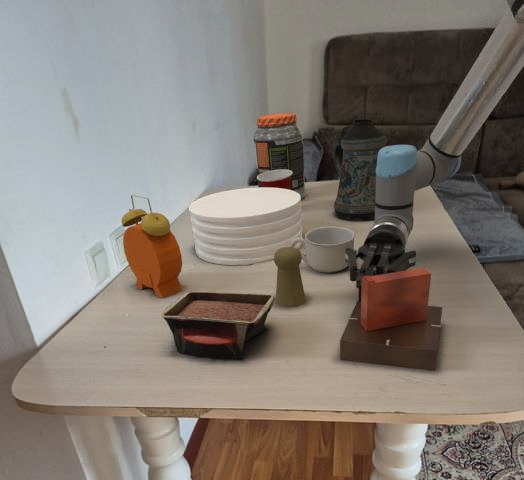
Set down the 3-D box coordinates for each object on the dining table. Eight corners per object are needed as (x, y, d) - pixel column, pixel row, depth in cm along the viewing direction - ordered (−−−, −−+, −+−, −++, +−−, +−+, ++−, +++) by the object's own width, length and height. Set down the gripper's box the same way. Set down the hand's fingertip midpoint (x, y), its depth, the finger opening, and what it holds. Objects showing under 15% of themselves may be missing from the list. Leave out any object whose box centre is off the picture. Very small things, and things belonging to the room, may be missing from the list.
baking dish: (206, 326, 93) (189, 280, 88) (291, 324, 86) (277, 273, 80) (168, 371, 83) (146, 322, 78) (261, 373, 75) (243, 318, 70)
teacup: (355, 259, 111) (356, 225, 107) (352, 278, 102) (353, 242, 98) (296, 259, 114) (294, 226, 110) (288, 278, 106) (285, 242, 101)
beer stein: (379, 225, 131) (383, 124, 118) (315, 220, 140) (312, 126, 127) (399, 209, 143) (405, 115, 130) (338, 204, 152) (338, 117, 139)
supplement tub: (308, 192, 169) (305, 110, 156) (301, 204, 156) (297, 116, 143) (264, 193, 173) (258, 114, 160) (254, 205, 160) (246, 120, 147)
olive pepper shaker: (278, 296, 98) (274, 243, 92) (307, 296, 97) (305, 243, 91) (272, 309, 93) (268, 255, 87) (303, 309, 92) (301, 254, 86)
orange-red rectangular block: (419, 313, 78) (423, 265, 74) (426, 320, 76) (431, 271, 72) (360, 324, 77) (361, 276, 72) (366, 331, 74) (367, 282, 70)
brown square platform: (440, 327, 82) (443, 305, 79) (435, 374, 70) (438, 349, 68) (356, 320, 86) (356, 299, 84) (339, 362, 75) (339, 339, 73)
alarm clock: (189, 290, 104) (172, 196, 94) (165, 300, 101) (145, 204, 91) (154, 277, 113) (135, 189, 103) (131, 286, 109) (110, 196, 99)
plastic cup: (252, 215, 150) (248, 175, 144) (277, 206, 156) (274, 168, 150) (277, 220, 143) (274, 178, 137) (302, 211, 149) (300, 171, 143)
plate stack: (175, 260, 121) (166, 214, 116) (228, 226, 143) (223, 186, 137) (276, 269, 110) (272, 220, 104) (318, 231, 131) (316, 188, 125)
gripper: (419, 262, 93) (405, 319, 74) (352, 259, 97) (322, 312, 79) (422, 224, 89) (408, 273, 70) (352, 222, 93) (321, 268, 75)
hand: (363, 293), depth 75 cm, fingers closed
